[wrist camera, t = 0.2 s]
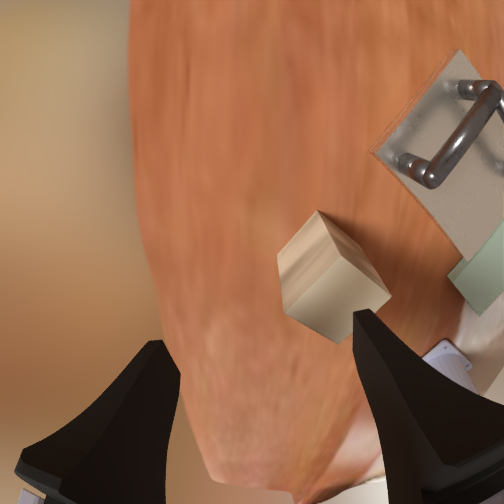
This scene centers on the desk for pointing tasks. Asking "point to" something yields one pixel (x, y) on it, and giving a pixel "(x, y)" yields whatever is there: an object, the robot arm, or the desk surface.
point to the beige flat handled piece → (451, 152)
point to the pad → (482, 273)
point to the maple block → (327, 279)
